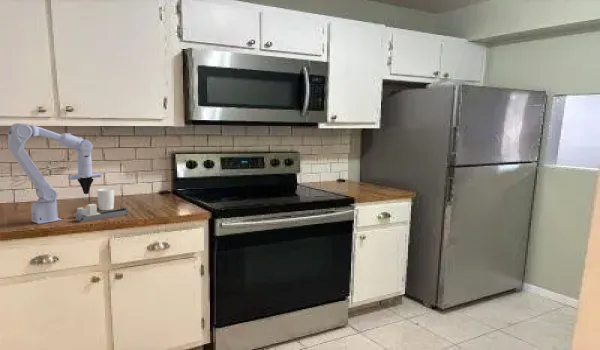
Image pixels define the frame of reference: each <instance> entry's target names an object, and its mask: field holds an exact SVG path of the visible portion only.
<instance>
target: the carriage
mask: <svg viewBox="0 0 600 350" xmlns="http://www.w3.org/2000/svg"><path fill="white" fill-rule="evenodd" d="M86 206H87V214H85V215H84V217H87V216H93V215H99V214H100V213H98V207H97V206H98V205H97V204H96V203H89V204H86Z"/></svg>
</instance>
